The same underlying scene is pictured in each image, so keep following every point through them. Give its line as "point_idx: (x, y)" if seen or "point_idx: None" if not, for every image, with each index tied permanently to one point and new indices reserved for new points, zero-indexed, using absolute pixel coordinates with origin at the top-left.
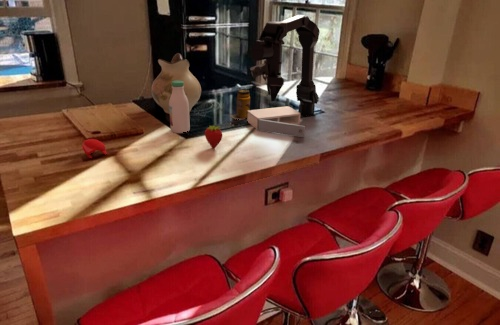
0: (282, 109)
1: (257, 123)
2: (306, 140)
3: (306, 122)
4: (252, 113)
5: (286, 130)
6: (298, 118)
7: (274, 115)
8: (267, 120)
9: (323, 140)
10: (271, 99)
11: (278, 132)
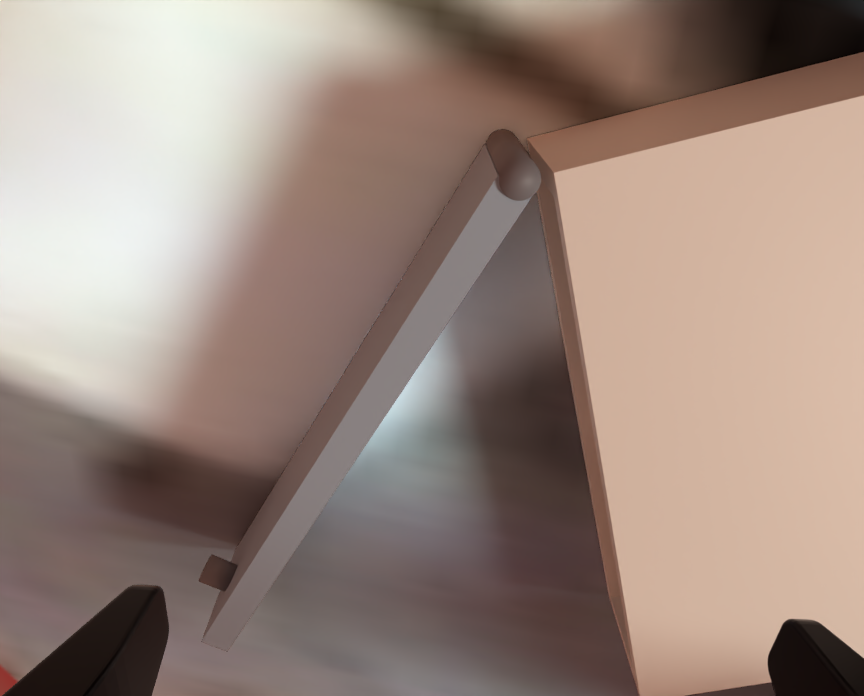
0: (854, 573)
1: (511, 145)
2: (184, 552)
3: None
4: (841, 118)
5: (303, 454)
6: (624, 636)
7: (636, 437)
8: (449, 304)
9: (194, 659)
10: (93, 625)
11: (349, 365)
